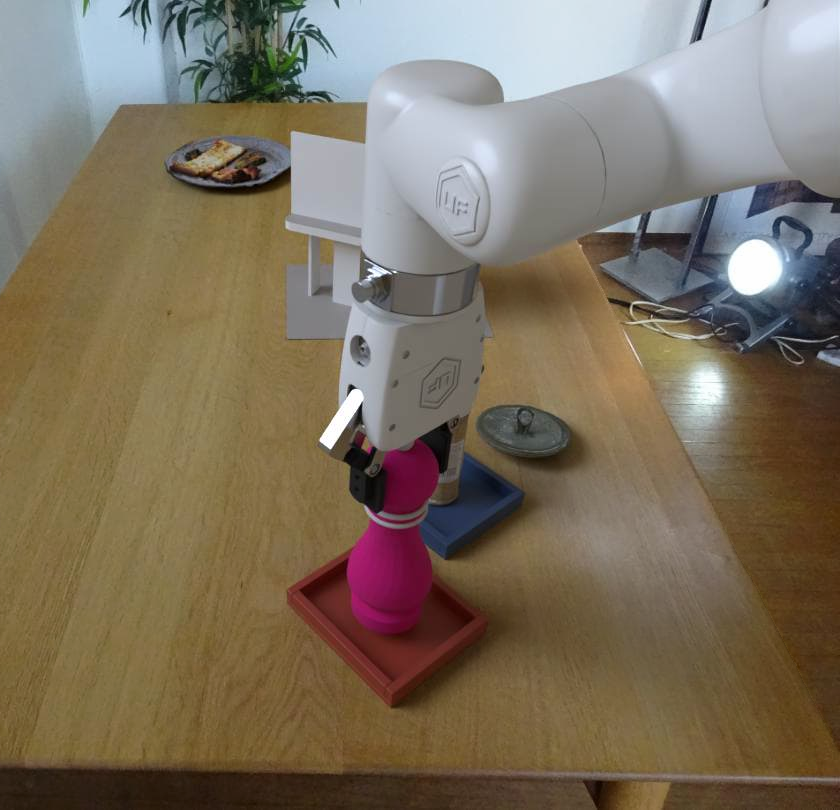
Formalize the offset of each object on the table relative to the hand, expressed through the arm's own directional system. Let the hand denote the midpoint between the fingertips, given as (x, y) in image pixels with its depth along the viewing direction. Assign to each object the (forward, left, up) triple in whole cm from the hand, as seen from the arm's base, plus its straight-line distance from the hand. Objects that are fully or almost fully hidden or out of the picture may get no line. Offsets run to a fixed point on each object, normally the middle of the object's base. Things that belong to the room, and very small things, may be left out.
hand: (398, 480), depth 62 cm
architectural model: (+41, -39, -17) cm, 59 cm away
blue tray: (+8, -15, -17) cm, 24 cm away
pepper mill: (0, 0, -15) cm, 15 cm away
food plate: (+95, -50, -17) cm, 109 cm away
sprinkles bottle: (+8, -15, -16) cm, 24 cm away
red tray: (0, 0, -17) cm, 17 cm away
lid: (+8, -29, -17) cm, 35 cm away
